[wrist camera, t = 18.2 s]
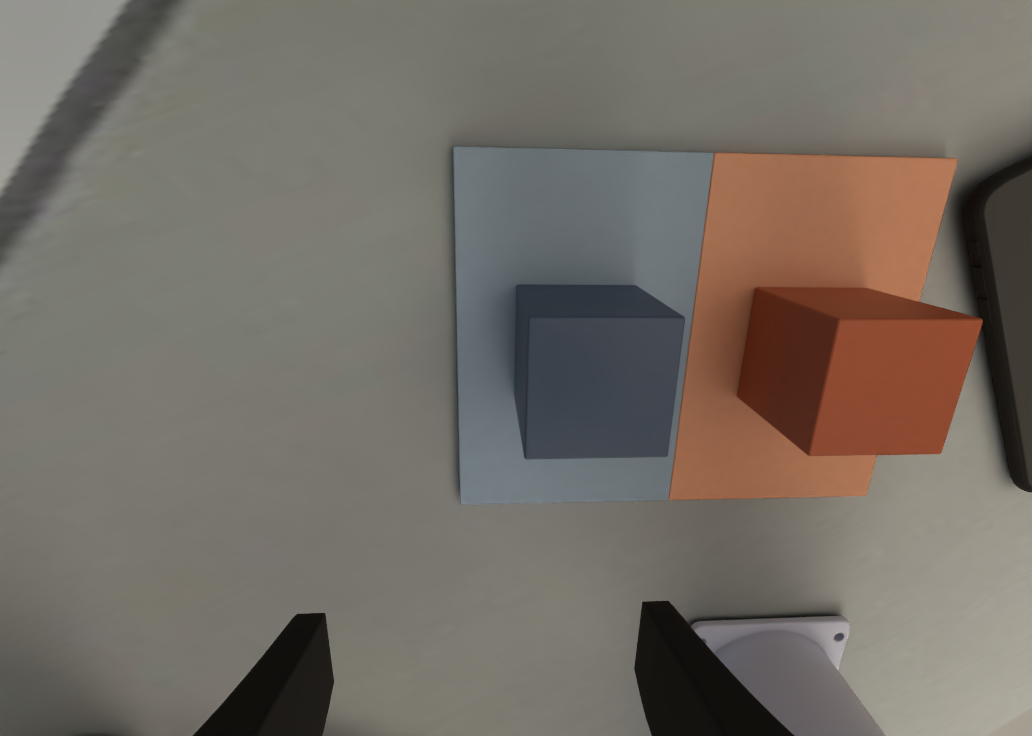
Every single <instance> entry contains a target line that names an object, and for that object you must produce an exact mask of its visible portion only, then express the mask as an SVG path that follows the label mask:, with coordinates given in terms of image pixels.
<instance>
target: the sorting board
mask: <svg viewBox="0 0 1032 736" xmlns="http://www.w3.org/2000/svg"><path fill="white" fill-rule="evenodd" d="M957 161H958V159H957V158H927V157H885V156H843V155H801V154H759V153H718V152H715V153H713V152H677V151H635V150H593V149H551V148H509V147H467V146H454V147H453V170H454V221H455V272H456V323H457V374H458V425H459V476H460V505H477V504H522V503H567V502H612V501H658V500H668V499H669V500H699V499H744V498H789V497H835V496H866V494H867V490H868V486H869V483H870V479H871V475H872V472H873V468H874V464H875V461H876V457H877V455H850V456H808V455H807V454H805V453H804V452H803V451H802V450H800V449H799V448H798V447H797V446H796V445H794V444H793V443H792V442H791V441H790V440H788V439H787V438H786V437H785V436H784V435H782V434H781V433H780V432H779V431H778V430H776V429H775V428H774V427H773V426H772V425H770V424H769V423H768V422H767V421H765V420H764V419H763V418H762V417H761V416H759V415H758V414H757V413H756V412H755V411H753V410H752V409H751V408H750V407H749V406H747V405H746V404H745V403H744V402H743V401H741V400H740V399H739V398H738V397H737V392H738V386H739V381H740V375H741V369H742V363H743V357H744V351H745V345H746V339H747V333H748V327H749V321H750V315H751V309H752V303H753V297H754V291H755V288H757V287H805V288H870V289H873V290H877V291H881V292H884V293H888V294H892V295H896V296H899V297H903V298H907V299H910V300H914V301H918V302H919V300H920V297H921V293H922V289H923V286H924V282H925V278H926V275H927V271H928V267H929V264H930V260H931V256H932V253H933V249H934V245H935V242H936V238H937V234H938V231H939V227H940V224H941V220H942V216H943V213H944V209H945V205H946V202H947V198H948V194H949V191H950V187H951V183H952V180H953V176H954V172H955V169H956V165H957ZM518 284H531V285H636V286H638V287H639V288H641V289H642V290H644V291H646V292H647V293H649V294H650V295H652V296H653V297H655V298H656V299H658V300H659V301H661V302H662V303H664V304H665V305H667V306H669V307H670V308H672V309H673V310H675V311H676V312H678V313H679V314H681V315H682V316H684V317H685V325H684V333H683V341H682V348H681V356H680V364H679V372H678V380H677V388H676V396H675V403H674V411H673V419H672V427H671V435H670V443H669V451H668V456H667V457H645V458H584V459H525V458H524V453H523V447H522V441H521V435H520V429H519V423H518V417H517V410H516V404H515V398H514V382H515V327H516V286H517V285H518Z"/></svg>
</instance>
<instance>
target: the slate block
mask: <svg viewBox="0 0 1032 736" xmlns="http://www.w3.org/2000/svg"><path fill="white" fill-rule="evenodd" d="M684 325H685V317H684V316H682V315H681V314H679V313H678V312H676V311H675V310H673V309H672V308H670V307H669V306H667V305H665V304H664V303H662V302H661V301H659V300H658V299H656V298H655V297H653V296H652V295H650V294H649V293H647V292H646V291H644V290H642V289H641V288H639V287H638V286H636V285H531V284H518V285H517V286H516V327H515V382H514V398H515V404H516V410H517V417H518V423H519V429H520V435H521V441H522V447H523V453H524V458H525V459H584V458H645V457H667V456H668V451H669V443H670V435H671V427H672V419H673V411H674V403H675V396H676V388H677V380H678V372H679V364H680V356H681V348H682V341H683V333H684Z"/></svg>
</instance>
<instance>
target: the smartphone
mask: <svg viewBox="0 0 1032 736" xmlns="http://www.w3.org/2000/svg"><path fill="white" fill-rule="evenodd" d="M964 222H965V227H966V233H967V238H968V241H967V245H968V251H969V254H970V255H971V261H972V266H971V267H972V273H973V278H974V284H975V290H976V291H977V294H978V298H977V301H978V306H979V312H980V317H981V319H982V320H983V327H984V333H985V338H986V344H987V349H988V355H989V360H990V366H991V371H992V377H993V382H994V388H995V393H996V399H997V404H998V410H999V415H1000V421H1001V426H1002V432H1003V437H1004V443H1005V448H1006V454H1007V459H1008V465H1009V470H1010V475H1011V478H1012V480H1013V483H1014V484H1015V485H1016V486H1017V487H1019V488H1020V489H1022V490H1024V491H1027V492H1032V156H1031V157H1029V158H1027V159H1025V160H1023V161H1021V162H1019V163H1017V164H1015V165H1013V166H1010V167H1008V168H1006V169H1004V170H1002V171H1000V172H998V173H996V174H994V175H992V176H990V177H989V178H987V179H986V180H984V181H983V182H981V183H980V184H979V185H978V186H977V187H976V188H975V189H974V190H973V191H972V192H971V193H970V194H969V196H968V198H967V199H966V201H965V205H964Z"/></svg>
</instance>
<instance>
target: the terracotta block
mask: <svg viewBox="0 0 1032 736" xmlns="http://www.w3.org/2000/svg"><path fill="white" fill-rule="evenodd" d="M982 323H983V320H982V319H981V318H977V317H973V316H970V315H966V314H962V313H959V312H955V311H951V310H947V309H944V308H940V307H936V306H933V305H929V304H925V303H921V302H918V301H914V300H910V299H907V298H903V297H899V296H896V295H892V294H888V293H884V292H881V291H877V290H873V289H870V288H805V287H757V288H755V291H754V297H753V303H752V309H751V315H750V321H749V327H748V333H747V339H746V345H745V351H744V357H743V363H742V369H741V375H740V381H739V386H738V392H737V397H738V398H739V399H740V400H741V401H743V402H744V403H745V404H746V405H747V406H749V407H750V408H751V409H752V410H753V411H755V412H756V413H757V414H758V415H759V416H761V417H762V418H763V419H764V420H765V421H767V422H768V423H769V424H770V425H772V426H773V427H774V428H775V429H776V430H778V431H779V432H780V433H781V434H782V435H784V436H785V437H786V438H787V439H788V440H790V441H791V442H792V443H793V444H794V445H796V446H797V447H798V448H799V449H800V450H802V451H803V452H804V453H805V454H807V455H808V456H850V455H907V454H940V453H941V452H942V449H943V446H944V443H945V440H946V436H947V433H948V430H949V427H950V424H951V421H952V418H953V414H954V411H955V408H956V405H957V402H958V399H959V395H960V392H961V389H962V386H963V383H964V380H965V377H966V373H967V370H968V367H969V364H970V361H971V358H972V355H973V351H974V348H975V345H976V342H977V339H978V336H979V333H980V329H981V326H982Z"/></svg>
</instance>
